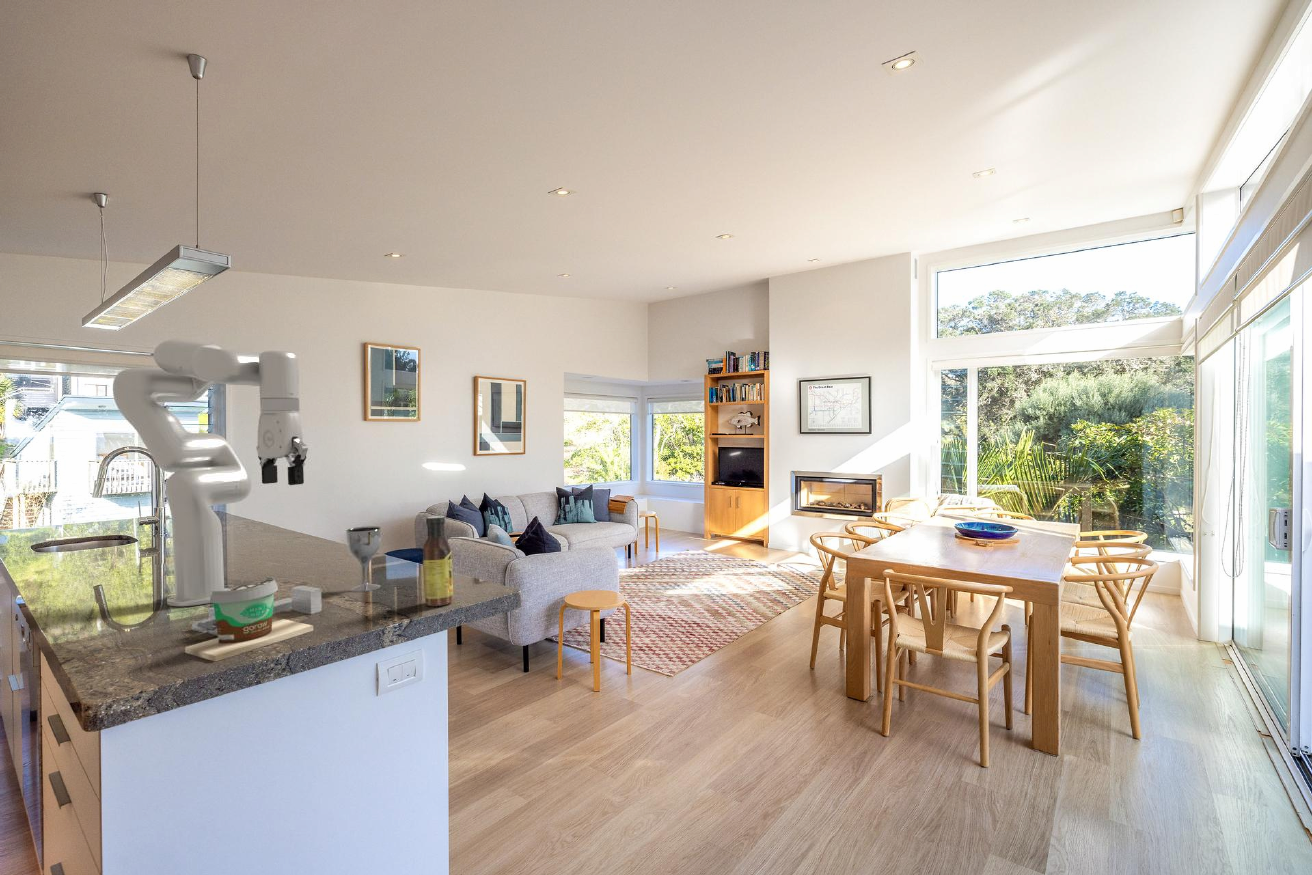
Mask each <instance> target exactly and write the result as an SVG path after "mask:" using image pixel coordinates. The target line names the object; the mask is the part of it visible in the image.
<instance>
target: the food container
mask: <svg viewBox="0 0 1312 875" xmlns="http://www.w3.org/2000/svg"><path fill="white" fill-rule="evenodd" d="M277 591H279V587H278V583H277V582H276V580H275V578H274V577H272V576H265V580H264V581H260V582H257V583H254V584H247V585H246V584H245V585H241V586H238V587H235V588H234V589H231V591H212V595H211V597H210V603H209V604H213V607H214V612H215V619H216V626H217V633H218V635H217V638H218V640H219V643H222V644H227V643H239V642H245V641H250V640H254V639H258V638H261V637H264V636H266V635H268V634H269V633H271V631H272V622H273V614H274V613H273V602H274V601H275V600H274V596H275V593H276V592H277Z"/></svg>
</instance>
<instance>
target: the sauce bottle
mask: <svg viewBox="0 0 1312 875" xmlns="http://www.w3.org/2000/svg"><path fill="white" fill-rule="evenodd" d="M425 522H426V523H425V524H426V525H427V534H426V535H427V539H426V541H425V543H424V544H423V547H422V557H423V558H422V570H423V572H422V573H423V590H424V591H423V592H424V596H423V597H424V600H425V605H426V606H427V607H441V606H446V605H448V604H451V603H452V602H453V600H454V599H453V595H454V584H453V583H454V581H453V580H454V578H453V560H452V559H453V557H452V548H451V546H450V543H449V541H448V540H449V539H448V538H447V535H446V531H445V529H446V528H445V522H446V518H445V516H444V515H435V516H433V515H432V516H427V517H426V520H425Z"/></svg>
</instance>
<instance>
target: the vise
mask: <svg viewBox="0 0 1312 875" xmlns="http://www.w3.org/2000/svg"><path fill="white" fill-rule="evenodd" d="M290 590H291V591H290V593H291V594H290V595H291V597H285V598H282V599H279V600H274V601H273V614H277V613H279V612H283V611H287V610H292V611H293V612H299V613H303V614H304V613H305V614H309V615H314V614H316V613H320V612H322V610H323V609H322V607H323V605H322V588H319V587H313V586H307V585H298V586H294V587H291V588H290ZM207 611H208V618H204V619H201V620H197V621H193V622H191V623H192V624H191V627H192V628H191V629H192V631H195V632H199V633H202V634H203V633H207V632H209V634H210V635H214V636H218V633H217V626H216V619H215V612H214V606H213V607H209V608H208V610H207Z"/></svg>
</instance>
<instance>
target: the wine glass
mask: <svg viewBox="0 0 1312 875" xmlns="http://www.w3.org/2000/svg"><path fill="white" fill-rule="evenodd" d="M345 532H346V533H345V534H346V543H347V548H348V551H349V553H350V554H351V556H353V557H354V558H355V559H356V560H357V561H358V562H359V563H360V566H361V568H362V574H363V583H362V584H359V585H356V586H353V587H351V588H350V589H349V591H350V592H353V593H354V592H355V593H362V592H365V593H366V592H370V591H375V590H378V589H380V588H381V587H382V586H381V585H380V584H377V583H369V582H368V567H369V564H370V562H371V560H372V559H373V558H374V556H375V555H376V554H377V552H378V551H379V549H380V546H381V540H382V527H381V526H378V525H377V526H373V525H372V526H370V525H369V526H368V525H367V526H359V527H358V526H357V527H352V528H348V529H346V531H345Z"/></svg>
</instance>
